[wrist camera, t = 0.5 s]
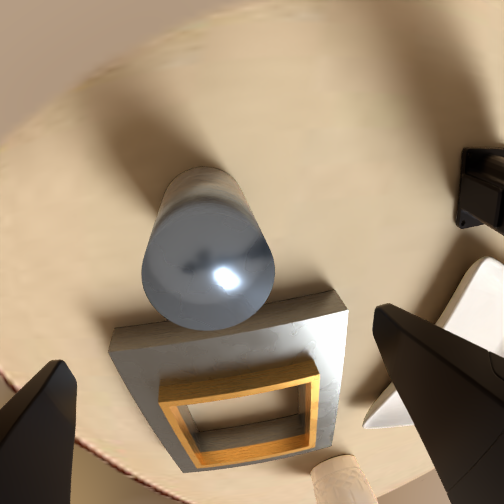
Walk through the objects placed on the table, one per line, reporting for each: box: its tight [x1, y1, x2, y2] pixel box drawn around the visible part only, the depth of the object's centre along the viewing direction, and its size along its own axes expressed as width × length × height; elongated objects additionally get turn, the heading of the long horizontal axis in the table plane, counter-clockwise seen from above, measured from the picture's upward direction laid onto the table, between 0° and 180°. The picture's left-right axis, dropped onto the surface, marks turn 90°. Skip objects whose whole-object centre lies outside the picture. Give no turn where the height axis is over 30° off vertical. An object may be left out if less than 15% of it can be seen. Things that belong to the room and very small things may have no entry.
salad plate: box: [362, 256, 504, 429], centre depth 29 cm, size 21×21×3 cm
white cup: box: [310, 455, 379, 504], centre depth 33 cm, size 8×8×10 cm
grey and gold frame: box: [108, 290, 348, 473], centre depth 25 cm, size 16×19×4 cm
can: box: [141, 167, 275, 331], centre depth 15 cm, size 5×5×8 cm
